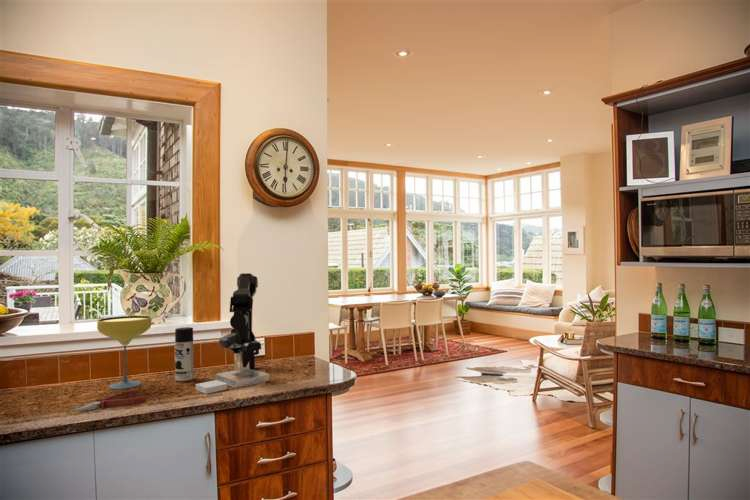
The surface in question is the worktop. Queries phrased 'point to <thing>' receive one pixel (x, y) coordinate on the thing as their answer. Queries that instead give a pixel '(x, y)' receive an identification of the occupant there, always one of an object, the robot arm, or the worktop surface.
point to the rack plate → (242, 377)
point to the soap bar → (211, 386)
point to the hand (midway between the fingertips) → (241, 366)
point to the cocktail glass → (124, 338)
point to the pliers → (113, 401)
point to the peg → (239, 362)
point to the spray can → (184, 354)
